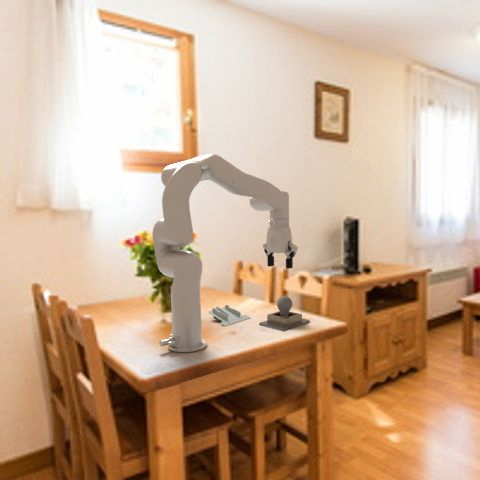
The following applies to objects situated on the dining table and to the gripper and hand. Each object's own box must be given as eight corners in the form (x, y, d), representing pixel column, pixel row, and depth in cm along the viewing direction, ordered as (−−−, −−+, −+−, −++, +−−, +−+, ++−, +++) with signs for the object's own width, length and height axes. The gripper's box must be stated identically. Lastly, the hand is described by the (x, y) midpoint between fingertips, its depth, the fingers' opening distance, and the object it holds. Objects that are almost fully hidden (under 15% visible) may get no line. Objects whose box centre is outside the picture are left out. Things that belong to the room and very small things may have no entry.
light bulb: (280, 318, 163) (280, 293, 162) (294, 320, 160) (294, 295, 159) (274, 322, 158) (274, 296, 157) (288, 324, 155) (288, 298, 154)
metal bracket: (203, 307, 165) (229, 301, 176) (201, 320, 167) (227, 313, 178) (228, 323, 156) (253, 315, 167) (225, 336, 158) (251, 328, 168)
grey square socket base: (282, 331, 149) (282, 321, 149) (259, 324, 158) (259, 315, 158) (309, 322, 160) (309, 313, 160) (286, 316, 169) (286, 308, 169)
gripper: (256, 223, 163) (257, 266, 164) (289, 224, 150) (290, 270, 151) (270, 223, 168) (270, 264, 169) (303, 223, 155) (303, 268, 156)
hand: (279, 267), depth 160 cm, fingers open, 9 cm apart
